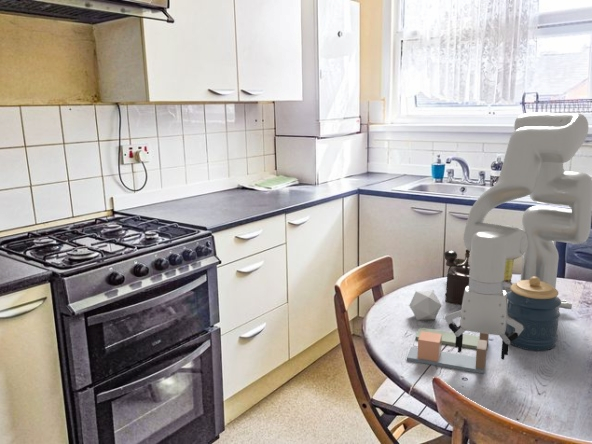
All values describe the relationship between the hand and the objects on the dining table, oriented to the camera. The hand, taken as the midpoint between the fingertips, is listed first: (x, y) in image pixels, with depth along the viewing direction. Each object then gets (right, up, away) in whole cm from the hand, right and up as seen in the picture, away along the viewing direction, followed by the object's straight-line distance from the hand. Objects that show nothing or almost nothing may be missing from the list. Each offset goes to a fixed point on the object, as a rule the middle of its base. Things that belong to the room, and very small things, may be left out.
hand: (481, 353), depth 123 cm
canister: (+18, 0, +14) cm, 23 cm away
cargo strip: (-7, -3, +4) cm, 9 cm away
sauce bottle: (+27, +10, +56) cm, 63 cm away
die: (-6, +3, +29) cm, 30 cm away
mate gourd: (+12, +10, +56) cm, 58 cm away
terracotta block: (-11, -2, +5) cm, 12 cm away
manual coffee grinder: (+8, +6, +40) cm, 41 cm away
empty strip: (-3, 0, +15) cm, 15 cm away
